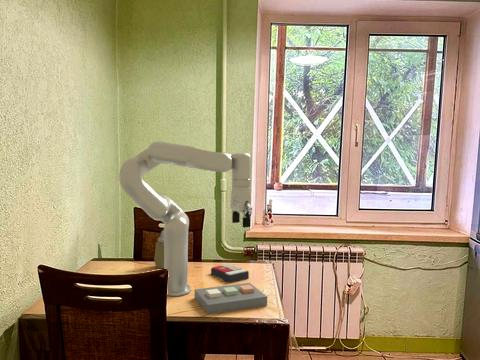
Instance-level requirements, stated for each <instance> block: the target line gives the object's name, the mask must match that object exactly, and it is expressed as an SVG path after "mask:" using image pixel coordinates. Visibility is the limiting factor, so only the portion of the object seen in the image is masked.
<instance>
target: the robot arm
mask: <svg viewBox="0 0 480 360" xmlns="http://www.w3.org/2000/svg"><path fill="white" fill-rule="evenodd" d="M251 157H252V156H251V154H250V153H247V152H235V153H233V152H231V153H230V152H217V151H211V150H205V149H200V148H197V147H194V146H190V145H184V144H179V143H171V142H166V141H165V142H164V141H161V140H158V141H157V140H156V141H153V142H151V143H150V145H148V147H147V148H146V149H144V150H142V151H141V152H140V153H138V154H136V155H135V156H133V157H130V158H128V159H126V160H124V161H123V163H122V164H121V167H120V168H119V173H118V174H119V175H118V179H119V184H120V187H121V188H122V189H123V192H125V194H126V195H128V197H129V198H131V200H133V202H134V203H135V204H136V205H137V206H138V207H139V208H141V210H143V211H144V212H145V213H146V215H147V216H149V217H150V218H151V219H153V220H156V221H157V220H160V221H161V222H162V223H163V224H164V226H163V231H164V269H168V271H169V277H168V295H167V296H169V297H178V296H179V297H180V296H184V295H188V294H190V293H191V292H192V288H191V286H190V285H189V284H188V269H189V268H188V267H189V266H188V261H189V260H188V259H189V257H188V255H189V253H188V251H189V228H190V227H189V226H190V219H189V216H188V215H187V214H186V213H185V211H183V210H182V209H181V208H180V207H179V206H178V205H177V204H176V203H175V202H174V201H173V200H172V199H171V198H170V197H169V196H167V195H165V194H162V193H157V192H156V191H155V190H154V189H153V187H151V186H150V185H149V184H148V183H147V182H145V180H144V179H143V176H145V175H146V174H147V173H149V172H150V171H152V170H153V169H155V168H156V167H158V166H159V165H161V164H164V165H171V166H179V167H183V168H184V167H185V168H188V169H189V168H190V169H199V170H203V171H210V172H217V173H226V172H227V173H228V171H230V170H231V190H230V191H231V193H230V209H231V215H232V216H231V219H232V220H231V222H232V223H233V224H237V223H240V220H241V219H240V217H241V215H240V213H242V216H243V217H242V228H245V229H246V228H251V217H252V211H253V207H252V199H251V197H252V196H251V161H252V160H251ZM164 269H163V270H164Z"/></svg>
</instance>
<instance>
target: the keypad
mask: <svg viewBox="0 0 480 360" xmlns="http://www.w3.org/2000/svg"><path fill="white" fill-rule="evenodd" d="M243 285H251V286H252V287H253V288H254V293H246V294H243V293H242V292H241V291H240V290H239V288H240V286H243ZM227 287H235V288H236V289H237V290H238V295H231V296H226V295H225V294H224V293H223V288H227ZM211 289H218V290H219V291H220V292H221V297H216V298H209V297H208V296H207V295H206V290H211ZM194 299H195V301H196V302H197V303H198V304H199V305H200V307H201V308H202V309H203V310H204V312H205V313H206V314H207V315H212V314H219V313H224V312H225V313H226V312H232V311H239V310H245V309H251V308H258V307H259V308H260V307H265V306H267V305H268V296H267V295H266V294H265V293H264V292H262V291H261V290H260V289H258V288H257V286H254V285H253V284H252V283H251V282H244V283H236V284H228V285H220V286H213V287H205V288H204V287H203V288H196V289H194Z"/></svg>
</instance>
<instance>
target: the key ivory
mask: <svg viewBox="0 0 480 360" xmlns="http://www.w3.org/2000/svg"><path fill="white" fill-rule="evenodd" d="M206 295H207V296H208V297H209V298H216V297H221V292H220V291H219V290H218V289H211V290H206Z"/></svg>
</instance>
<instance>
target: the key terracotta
mask: <svg viewBox="0 0 480 360" xmlns="http://www.w3.org/2000/svg"><path fill="white" fill-rule="evenodd" d="M239 290H240V291H241V292H242V293H243V294H246V293H254V288H253V287H252V286H251V285H243V286H240V288H239Z"/></svg>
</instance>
